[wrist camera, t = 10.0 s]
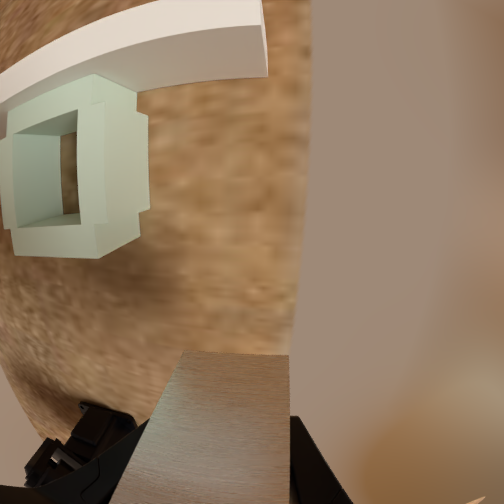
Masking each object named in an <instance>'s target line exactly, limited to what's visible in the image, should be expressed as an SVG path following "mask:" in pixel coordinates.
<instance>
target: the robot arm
mask: <svg viewBox="0 0 504 504" xmlns="http://www.w3.org/2000/svg"><path fill="white" fill-rule="evenodd" d="M78 406H79V408H80V410H81V412H82V414H83V416H82V418H81V419H80V420H79V422H78V423H77V425H76V426H75V427H74V429H73V430H72V432H71V436H70V438H69V439H68V441H67V442H66V444H65V445H63V444H62V443H61V441H59V440H58V439H57V438H56V440H55V441H54V440H52V439H50V438H48V437H47V438H46V440H45V441H44V442H43V444H42V445H41V446H40V448H39V449H38V450H37V452H36V453H35V454H34V456H33V457H32V458H31V459H30V461H29V462H28V463H27V465H26V466H25V467H24V468H25V472H26V475H27V476H26V478H25V479H26V480H27V481H26V483H25V484H24V486H25V487H27V488H25V487H13V486H5V485H0V504H109V502H110V500H111V498H112V496H113V494H114V492H115V490H116V488H117V486H118V483H119V481H120V479H121V477H122V475H123V473H124V471H125V469H126V467H127V465H128V463H129V461H130V459H131V456H132V454H133V452H134V450H135V448H136V446H137V444H138V442H139V440H140V438H141V436H142V434H143V432H144V430H145V428H146V426H147V424H148V422H149V420H150V418H149V419H148V420H147V421H145V422H144V423H143V424H141V425H140V426H139V427H138V426H137V424H136V422H135V420H134V419H133V418H132V417H131V416H128V415H124V414H120V413H117V412H113V411H110V410H106V409H103V408H100V407H97V406H94V405H90V404H87V403H84V402H80V403H79V404H78ZM51 457H53V458H54V459H56V460H57V461H58V462H57V463H56V462H54V461H53V460H52V459H51ZM289 504H353V502H352V501H351V499H350V498H349V497H348V495H347V494H346V492H345V491H344V489H342V486H341V485H340V483H339V481H338V480H337V478H336V477H335V475H334V473H333V472H332V470H331V469H330V467H329V465H328V464H327V462H326V461H325V459H324V457H323V456H322V454H321V452H320V451H319V449H318V448H317V446H316V444H315V443H314V441H313V439H312V438H311V436H310V434H309V433H308V431H307V429H306V428H305V426H304V424H303V422H302V421H301V419H300V418H299V417H298V416H290V485H289Z"/></svg>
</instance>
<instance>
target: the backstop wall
mask: <svg viewBox="0 0 504 504" xmlns="http://www.w3.org/2000/svg"><path fill="white" fill-rule="evenodd" d="M91 74H97V75H99V76H101V77H104V78H106V79H108V80H110V81H113V82H115V83H117V84H119V85H121V86H124V87H126V88H128V89H130V90H132V91H134V92H136V93H137V92H141V91H146V90H151V89H156V88H162V87H168V86H174V85H180V84H187V83H195V82H203V81H212V80H223V79H237V78H258V77H268V63H267V43H266V34H265V26H264V18H263V10H262V2H261V0H159V1H155V2H151V3H148V4H144V5H141V6H137V7H134V8H131V9H128V10H125V11H122V12H119V13H116V14H113V15H111V16H108V17H105V18H103V19H100V20H98V21H95V22H93V23H90V24H88V25H86V26H84V27H81V28H79V29H77V30H75V31H73V32H71V33H68V34H66V35H64V36H62V37H60V38H58V39H57V40H55V41H53V42H51V43H49V44H47V45H45V46H44V47H42V48H40V49H38V50H37V51H35V52H33V53H32V54H30V55H28V56H27V57H25V58H24V59H22V60H20V61H19V62H17V63H16V64H14V65H13V66H11V67H10V68H9V69H7V70H6V71H4V72H3V73H1V74H0V140H1V139H3V138H6V130H7V117H8V111H10V110H12V109H14V108H15V107H17V106H19V105H21V104H23V103H25V102H27V101H29V100H31V99H33V98H35V97H37V96H39V95H41V94H43V93H46V92H48V91H50V90H52V89H55V88H57V87H59V86H62V85H64V84H67V83H69V82H72V81H74V80H77V79H80V78H82V77H85V76H88V75H91Z"/></svg>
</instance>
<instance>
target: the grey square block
mask: <svg viewBox="0 0 504 504" xmlns="http://www.w3.org/2000/svg"><path fill="white" fill-rule="evenodd" d="M289 485H290V392H289V355H254V354H234V353H218V352H205V351H194V350H184V352H183V354H182V356H181V358H180V360H179V362H178V364H177V366H176V368H175V370H174V372H173V374H172V376H171V378H170V380H169V382H168V384H167V386H166V388H165V390H164V392H163V394H162V396H161V398H160V400H159V402H158V404H157V406H156V408H155V410H154V412H153V414H152V416H151V418H150V420H149V422H148V424H147V426H146V428H145V430H144V432H143V434H142V436H141V438H140V440H139V442H138V444H137V446H136V448H135V450H134V452H133V454H132V456H131V459H130V461H129V463H128V465H127V467H126V469H125V471H124V473H123V475H122V477H121V479H120V481H119V483H118V486H117V488H116V490H115V492H114V494H113V496H112V498H111V500H110V502H109V504H289Z"/></svg>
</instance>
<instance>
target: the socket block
mask: <svg viewBox="0 0 504 504" xmlns="http://www.w3.org/2000/svg"><path fill="white" fill-rule="evenodd" d="M136 105H137V93H136V92H134V91H132V90H130V89H128V88H126V87H124V86H121V85H119V84H117V83H115V82H113V81H110V80H108V79H106V78H104V77H101V76H99V75H97V74H91V75H88V76H85V77H82V78H80V79H77V80H74V81H72V82H69V83H67V84H64V85H62V86H59V87H57V88H55V89H52V90H50V91H48V92H46V93H43V94H41V95H39V96H37V97H35V98H33V99H31V100H29V101H27V102H25V103H23V104H21V105H19V106H17V107H15V108H14V109H12V110H10V111H8V117H7V130H6V138H4V139H2V140H0V196H1V208H2V218H3V226H4V229H10V230H11V237H12V243H13V249H14V255H15V256H38V257H64V258H92V259H99V258H101V257H103V256H104V255H106V254H108V253H110V252H112V251H114V250H116V249H117V248H119V247H121V246H123V245H125V244H127V243H129V242H131V241H133V240H134V239H136V238H138V237H140V225H139V212H142V211H145V210H148V209H150V195H149V170H148V116H147V115H144V114H142V113H139V112H136ZM73 132H77V176H78V195H79V207H80V213H74V214H63V203H62V190H61V167H60V136H63V135H66V134H70V133H73Z"/></svg>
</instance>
